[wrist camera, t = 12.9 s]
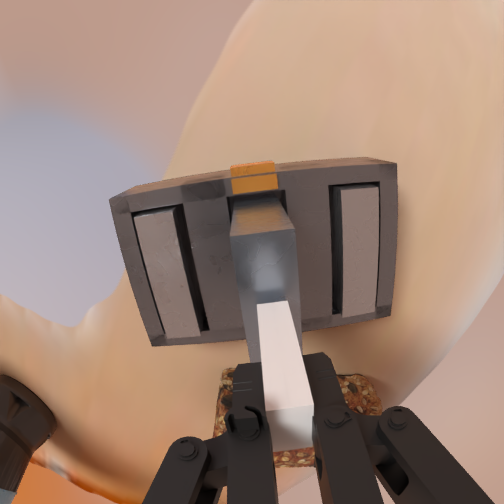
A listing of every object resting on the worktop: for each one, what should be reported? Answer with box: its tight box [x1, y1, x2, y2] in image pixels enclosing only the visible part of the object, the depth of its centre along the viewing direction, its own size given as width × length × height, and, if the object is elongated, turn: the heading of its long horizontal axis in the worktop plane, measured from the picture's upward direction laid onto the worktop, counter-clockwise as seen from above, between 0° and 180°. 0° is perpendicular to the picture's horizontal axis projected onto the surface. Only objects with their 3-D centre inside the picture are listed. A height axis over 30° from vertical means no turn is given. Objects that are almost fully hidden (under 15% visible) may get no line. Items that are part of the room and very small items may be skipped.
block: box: [230, 192, 303, 363], centre depth 20 cm, size 9×3×10 cm, turn 7°
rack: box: [109, 157, 398, 346], centre depth 24 cm, size 21×14×7 cm, turn 97°
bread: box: [213, 368, 382, 468], centre depth 31 cm, size 19×11×10 cm, turn 81°
